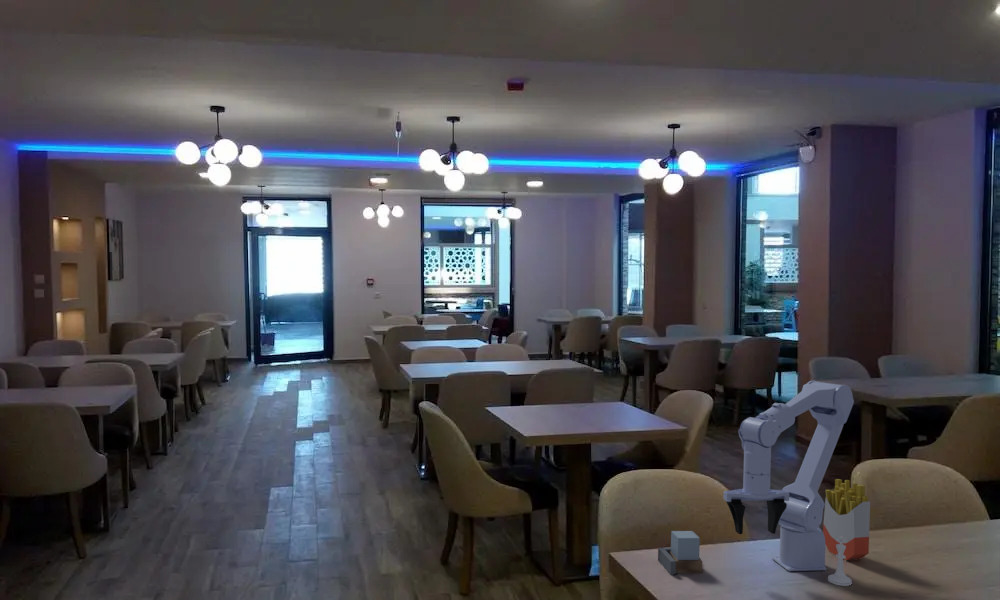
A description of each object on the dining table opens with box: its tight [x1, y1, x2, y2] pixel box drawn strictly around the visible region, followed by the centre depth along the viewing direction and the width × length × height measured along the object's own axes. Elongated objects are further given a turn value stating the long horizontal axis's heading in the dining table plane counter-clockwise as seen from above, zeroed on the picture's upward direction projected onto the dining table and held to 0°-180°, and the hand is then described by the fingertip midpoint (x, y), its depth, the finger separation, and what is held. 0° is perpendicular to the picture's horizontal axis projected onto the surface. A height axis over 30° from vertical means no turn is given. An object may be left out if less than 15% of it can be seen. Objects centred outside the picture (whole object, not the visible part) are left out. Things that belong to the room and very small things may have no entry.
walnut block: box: [670, 552, 703, 574], centre depth 173 cm, size 6×6×3 cm
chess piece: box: [827, 537, 853, 587], centre depth 167 cm, size 5×5×10 cm
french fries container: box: [822, 478, 871, 561], centre depth 183 cm, size 5×11×18 cm, turn 15°
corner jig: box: [657, 546, 677, 576], centre depth 174 cm, size 9×9×3 cm
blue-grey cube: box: [670, 530, 701, 560], centre depth 173 cm, size 5×5×5 cm
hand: (755, 532), depth 169 cm, fingers open, 7 cm apart
